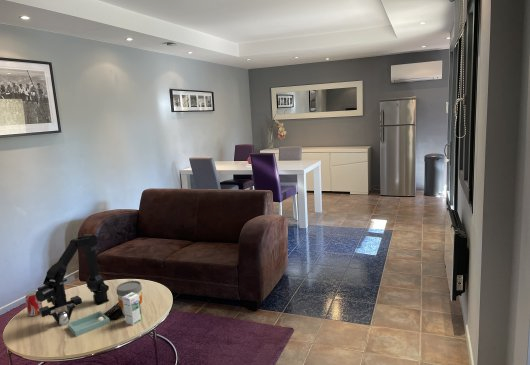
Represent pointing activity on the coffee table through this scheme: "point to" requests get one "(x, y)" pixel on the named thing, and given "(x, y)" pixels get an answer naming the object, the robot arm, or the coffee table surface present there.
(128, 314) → the syrup box
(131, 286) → the reusable coffee cup
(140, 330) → the coffee table surface
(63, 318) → the cylinder
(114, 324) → the coffee table surface
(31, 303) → the soda can
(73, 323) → the tray
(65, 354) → the coffee table surface
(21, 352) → the coffee table surface
